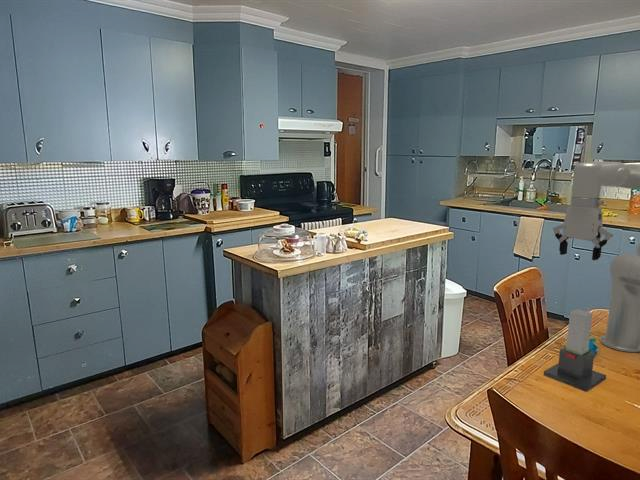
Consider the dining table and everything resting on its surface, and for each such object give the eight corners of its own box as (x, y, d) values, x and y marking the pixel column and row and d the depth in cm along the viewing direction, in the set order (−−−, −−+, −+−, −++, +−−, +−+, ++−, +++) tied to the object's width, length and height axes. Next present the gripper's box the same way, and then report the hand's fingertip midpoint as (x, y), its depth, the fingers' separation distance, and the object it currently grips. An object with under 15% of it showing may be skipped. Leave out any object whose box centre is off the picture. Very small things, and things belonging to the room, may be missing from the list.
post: (572, 353, 132) (576, 308, 129) (587, 358, 128) (593, 313, 125) (564, 357, 129) (569, 312, 126) (580, 363, 126) (585, 316, 123)
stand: (563, 363, 138) (565, 339, 136) (605, 378, 128) (608, 352, 127) (543, 374, 131) (545, 349, 129) (586, 391, 121) (589, 364, 120)
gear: (586, 356, 139) (569, 326, 145) (571, 363, 144) (555, 334, 149) (607, 353, 144) (590, 325, 150) (592, 360, 149) (576, 333, 154)
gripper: (621, 204, 132) (614, 260, 135) (561, 200, 146) (557, 250, 149) (610, 206, 128) (603, 263, 131) (550, 201, 142) (545, 253, 145)
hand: (578, 256), depth 140 cm, fingers open, 9 cm apart
